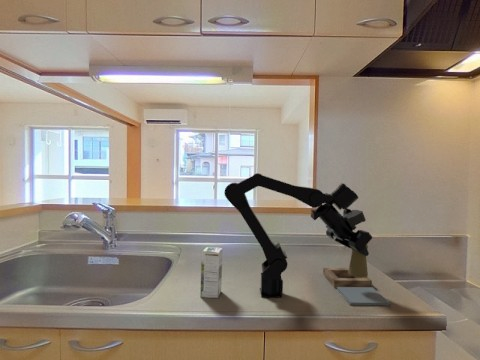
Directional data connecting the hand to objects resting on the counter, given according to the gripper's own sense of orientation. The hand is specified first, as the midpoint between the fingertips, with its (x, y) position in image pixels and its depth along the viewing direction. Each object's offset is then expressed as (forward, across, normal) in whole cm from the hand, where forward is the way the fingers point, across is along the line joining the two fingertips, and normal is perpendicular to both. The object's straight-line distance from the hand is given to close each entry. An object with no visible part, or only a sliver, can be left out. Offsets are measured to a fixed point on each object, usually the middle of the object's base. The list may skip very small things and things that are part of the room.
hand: (362, 252), depth 100 cm
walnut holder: (+10, +11, +9) cm, 17 cm away
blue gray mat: (+8, -3, +11) cm, 14 cm away
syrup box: (-24, +7, +44) cm, 51 cm away
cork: (+4, 0, +6) cm, 7 cm away
